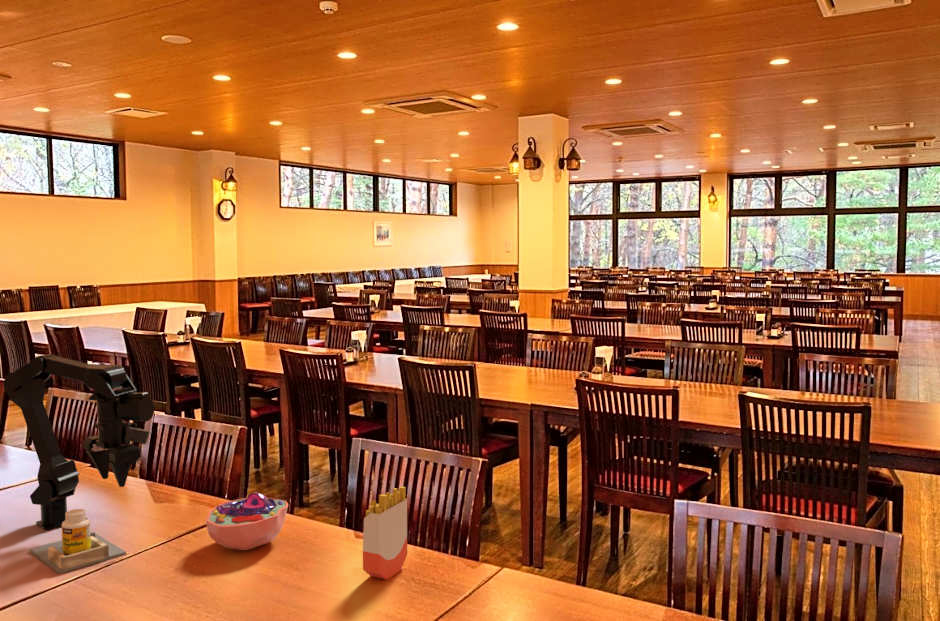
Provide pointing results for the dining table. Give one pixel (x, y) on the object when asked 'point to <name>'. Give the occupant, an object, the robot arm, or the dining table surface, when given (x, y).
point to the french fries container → (385, 535)
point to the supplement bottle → (75, 532)
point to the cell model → (246, 521)
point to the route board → (42, 553)
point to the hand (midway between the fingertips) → (113, 482)
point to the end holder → (79, 555)
